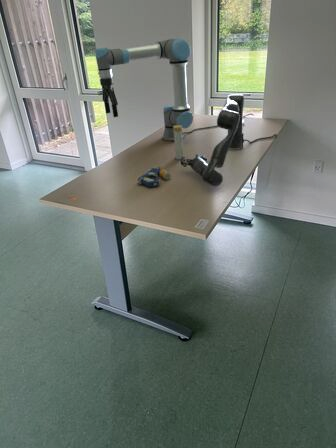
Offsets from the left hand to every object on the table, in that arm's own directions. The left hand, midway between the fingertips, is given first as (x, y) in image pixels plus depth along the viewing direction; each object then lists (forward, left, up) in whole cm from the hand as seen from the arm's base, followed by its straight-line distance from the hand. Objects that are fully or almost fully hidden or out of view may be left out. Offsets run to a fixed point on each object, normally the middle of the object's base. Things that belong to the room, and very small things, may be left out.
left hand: (112, 114), depth 206 cm
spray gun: (-3, +48, -28) cm, 55 cm away
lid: (-31, +27, -8) cm, 42 cm away
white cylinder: (-31, +27, -28) cm, 49 cm away
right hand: (-27, +45, -21) cm, 56 cm away
